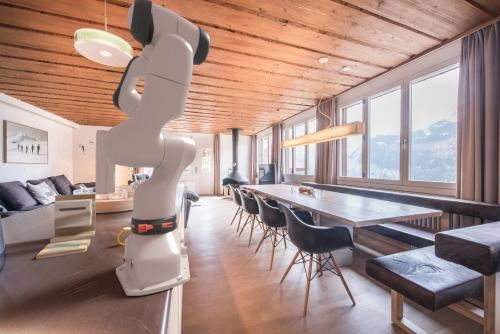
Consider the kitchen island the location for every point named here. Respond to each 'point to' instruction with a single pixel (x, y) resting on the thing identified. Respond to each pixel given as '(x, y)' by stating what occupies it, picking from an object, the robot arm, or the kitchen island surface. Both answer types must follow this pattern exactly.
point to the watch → (121, 232)
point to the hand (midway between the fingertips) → (103, 156)
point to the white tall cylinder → (103, 168)
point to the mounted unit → (74, 217)
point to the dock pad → (64, 248)
